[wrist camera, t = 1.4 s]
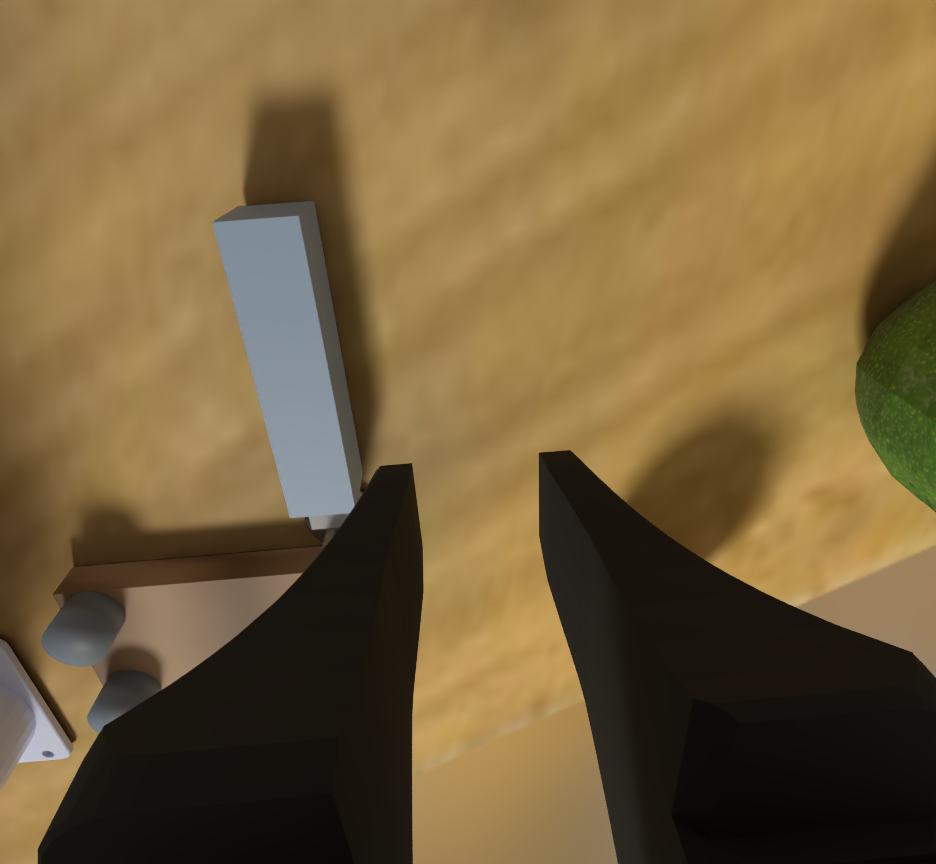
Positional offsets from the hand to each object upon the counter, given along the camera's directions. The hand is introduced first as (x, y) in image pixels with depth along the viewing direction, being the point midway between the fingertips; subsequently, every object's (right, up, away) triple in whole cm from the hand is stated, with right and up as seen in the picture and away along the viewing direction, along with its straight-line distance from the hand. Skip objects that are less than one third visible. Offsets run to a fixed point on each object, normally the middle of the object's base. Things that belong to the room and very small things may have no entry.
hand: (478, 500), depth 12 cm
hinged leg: (-5, +3, +8) cm, 10 cm away
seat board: (-10, -6, +14) cm, 18 cm away
